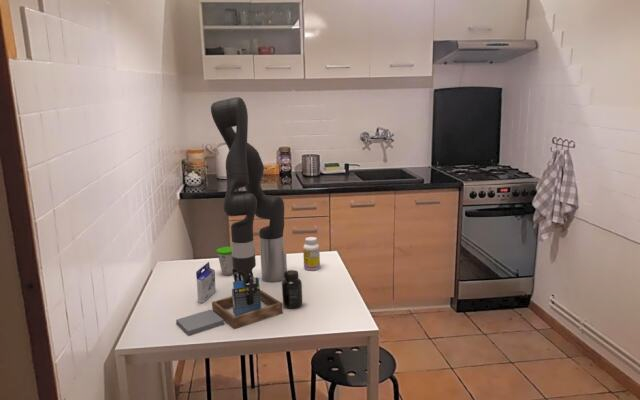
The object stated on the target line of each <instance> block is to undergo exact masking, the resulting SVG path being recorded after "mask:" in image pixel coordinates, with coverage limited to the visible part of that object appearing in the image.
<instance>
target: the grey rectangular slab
mask: <svg viewBox="0 0 640 400" xmlns="http://www.w3.org/2000/svg"><path fill="white" fill-rule="evenodd" d="M175 322H176V325H177V326H178V327H179V328H180V329H181V330H182V331H183V332H184V333H185V334H186V335H187V336H191V335H195V334H199V333H201V332H204V331H207V330H210V329H214V328H217V327H220V326H224V325H225V321H224V320H223V319H222V318H221V317H220V316H218V315H217V314H216V313H215V312H213V311H212V308H211V309H208V310H203V311H201V312H198V313H193V314H190V315H187V316H184V317H180V318H177V319H176V320H175Z"/></svg>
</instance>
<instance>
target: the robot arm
mask: <svg viewBox="0 0 640 400" xmlns="http://www.w3.org/2000/svg"><path fill="white" fill-rule="evenodd" d="M210 113H211V114H210V115H211V117H212V120H213V122H214V124H215V126H216V127H217V129H218V131H219V133H220V136H221V137H222V139H223V141H224V142H225V144H226V147H227V148H228V150H229V151H228V153H227V155H226V159H225V173H226V174H225V175H226V191H225V196H224V201H223V210H224V212H225V214H226V216H228V217H239V216H245V217H244V219H241V220H239V221H237V222H234V223H232V224H231V226H230V232H231V233H230V236H231V247H232V262H233V268H234V269H232V271H233V274H232V275H233V280H234V281H233V282H235V281H242V280H243V284H242V285H243V287H244V288H245V290H246V298H247V304H248V305H251V304H253V303H254V299H253V294H255V293H257V286H258V278H259V277H255V276H254V272H253V269H254V268H255V267H256V265H257V262H256V247H255V240H254V220H255V216H256V217H257V218H258V219H262V220H269V225H267V226H264V227H262V228H260V229H259V232H258V234H259V250H260V253H259V255H260V268H261V269H260V270H261V271H260V272H261V279H262V281H264V282H269V283H270V282H271V283H274V282H280V281H283V280H284V279H285V278H284V272H286V271H288V264H287V262H288V261H287V253H285V243H284V229H285V203H284V199H283V198H282V197H280V196H277V195H269V194H267V195H266V193H264V191H263V189H262V186H261V183H262V180H263V175H264V171H265V167H264V163H263V161H262V157H261V156H260V153H259V152H258V150H257V149H256V148H255V146H253V145H251V144H250V143H249V142H248V132H249V131H248V127H249V124H248V122H249V119H248V118H249V116H248V115H249V114H248V108H247V104H246V103H245V101H244V99H243V98H241V97H240V96H238V97H231V98H226V99H222V100H218V101H215V102H213V103H212V104H211V105H210ZM233 127H235V130H234V129H233ZM242 188H245V190H246V193H235V191H237V190H238V189H242ZM248 287H249V290H248Z"/></svg>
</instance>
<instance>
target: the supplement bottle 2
mask: <svg viewBox="0 0 640 400" xmlns="http://www.w3.org/2000/svg"><path fill="white" fill-rule="evenodd" d="M317 241H318V238H317V237H315V236H309V237H305V244H304V245H303V247H302V248H303V250H302V251H303V268H304V270H306V271H316V270H319V269H320V267H321V261H320V260H321V259H320V258H321V257H320V244H318V243H317Z"/></svg>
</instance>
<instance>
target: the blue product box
mask: <svg viewBox="0 0 640 400" xmlns="http://www.w3.org/2000/svg"><path fill="white" fill-rule="evenodd" d="M257 278H258V286H257V293H255V294H253V299H254V303H253V304H251V305H248V304H247V298H246V290H245V288H244V287H243V285H242V284H243V280H242V281H235V282H234V281H232V286H233V288H232V289H231V296H232V299H233V307H232V309H233V314H234V316H238V315H242V314H245V313H248V312H251V311H254V310H257V309H261V308H262V302H261V299H260V290H261V286H260V285H261V284H260V278H259V277H257ZM248 290H249V287H248Z"/></svg>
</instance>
